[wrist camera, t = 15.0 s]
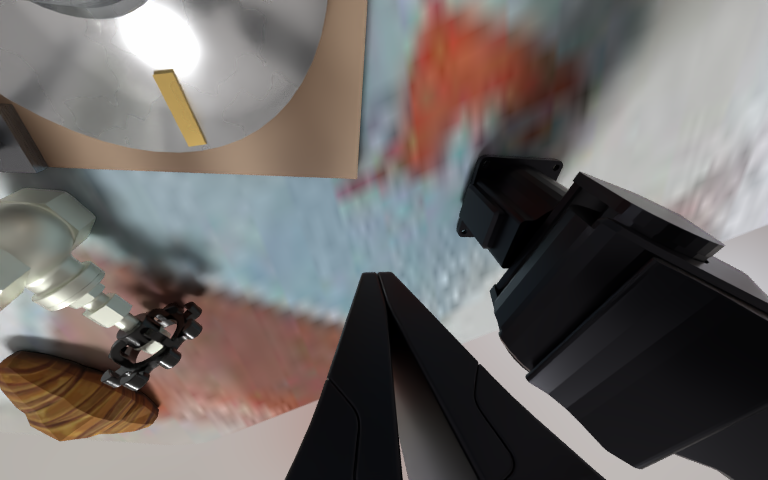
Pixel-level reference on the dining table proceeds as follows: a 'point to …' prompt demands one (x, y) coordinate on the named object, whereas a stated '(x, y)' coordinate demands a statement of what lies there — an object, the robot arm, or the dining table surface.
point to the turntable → (160, 68)
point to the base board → (272, 141)
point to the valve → (82, 282)
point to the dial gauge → (17, 144)
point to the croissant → (71, 398)
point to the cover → (94, 7)
